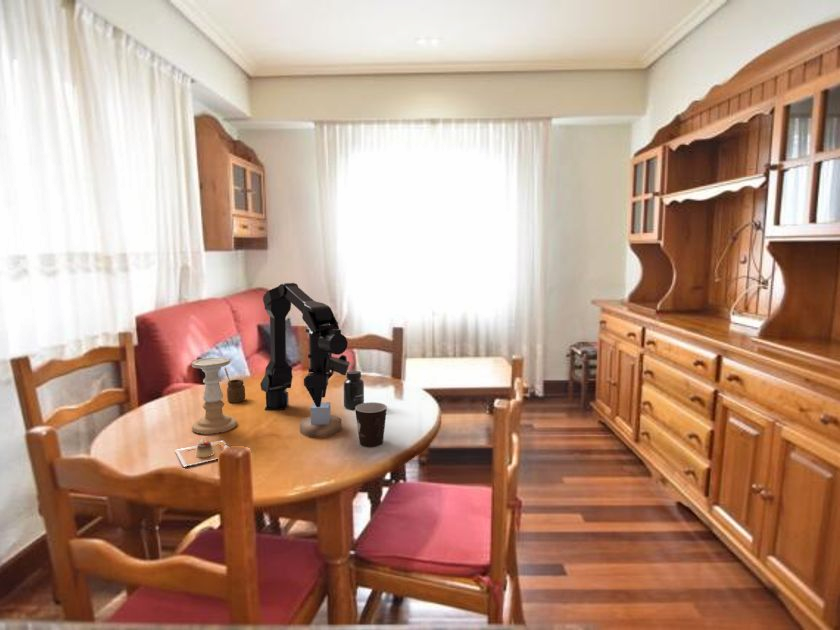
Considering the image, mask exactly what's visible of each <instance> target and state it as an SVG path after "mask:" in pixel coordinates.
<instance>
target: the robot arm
mask: <svg viewBox="0 0 840 630" xmlns="http://www.w3.org/2000/svg"><path fill="white" fill-rule="evenodd" d="M262 301H263V304H264V311H265V312H266V313H267V315H268V316H269V329H270V330H269V331H270V332H269V333H270V334H269V335H270V338H269V339H270V341H269V342H270V345H269V346H270V347H269V348H270V350H269V351H270V360H269V361H268V362H267V363H268V364H267V365H266V367H265V372H264V373H265V374H264V376H263V378H262V379H261V382H260V384H259V385H260V389H261V391H262V392H265V408H264V410H265V411H266V410H276V411H277V410H285V409H286V408H287V407H288V405H289V404H290V403H289V392H288V391H287V389H292V382H293V377H294V376H293V372H292V371H293V368H292V366H291V365H290V364H289V363H288V361H287V351H286V350H287V343H286V342H287V340H286V339H287V334H286V332H287V326H286V325H287V320H286V318H287V316H288V315H289V312H290V311H291V308H292V305H293V306H294V307H295V308H296V309H297V310H298V311H299V312H301V314H302V316H301V318H302V320H303V322H304V323H305V324H306V325H307V328H306V329H305V333H307V334H308V349H309V350H308V351H309V352H308V354H307V358H308V359H309V368H308V374H306V375H305V377H304V379H303V386H304V387H305V388H306V390H307V392H308V394H309V395H310V397H311V399H312V401H313V403H315V405H316V407H320V406H321V402H322V399H323V398H326V393H327V389H328V385H329V379H330V378H331V377H332V376H333V375H334V374H335V373H338V374H339V375H341V376H347V372H348V371H349V367H350V363H351V362H350V361H349V360H348V357H347V355H345V354H343V353H345V351H346V350H347V348H348V342H349V341H348V340H347V337H346V336H345V335H344V334H342V329H340V326H339V322H338V321H337V318H336V317H335V314H334V311H333V310H332V308H331V307H330V306H329V305H327V304H325V303H323V302H320V301H316V300H314V299H313V298H312V297H310V296H309V294H307V293H306V292H305V291H304V290H303V289H302V288H300V287H299V285H298V284H297V283H295V282H284V283H283V282H282V283H281V284H279V285H277V286H276V287H274V288H271V289H269V290H267V291H266V292H265V293H264V294H263V297H262ZM332 354H334V355H337V356H338V355H340V356H338V357H337V356H332Z"/></svg>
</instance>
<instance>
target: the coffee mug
mask: <svg viewBox="0 0 840 630" xmlns="http://www.w3.org/2000/svg"><path fill="white" fill-rule="evenodd" d="M387 409H388V406H387V405H386V404H385V403H381V402H373V401H372V402H364V403H363V404H359V405H357V406H356V407H355V409H354V410H355V412H354V413H355V418H356V427H357V432H358V440H359V445H360V446H362V447H363V448H378V447H379V446H382V445H383V444H384V436H385V428H386V427H385V426H386V420H387V419H386V418H387V411H388V410H387Z"/></svg>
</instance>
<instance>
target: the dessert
mask: <svg viewBox="0 0 840 630" xmlns="http://www.w3.org/2000/svg"><path fill="white" fill-rule="evenodd" d="M218 442H223V443H224V444H227V442H226V441H225V440H224V439H222V440H217V441H212V442H210V441H208V439H207V437H206V439H205V438H202V439H201V440H199V443H198V444H197V445H193V446H188V447H183V448H182V447H181V448H179V449H175V450H174V451H175V453H176V455H177V457H178V459H179V461H180V463H181V465H182V467H183V468H188V467H187V466H189V467H192V465H193V466H196V465H201V464H206V463H209V462H208V461H210V462H213V461H212V460H214V461H217V460H216V459H217V458H218V457H217V458H213V459H209V460H208V459H207V460H204V461H199V462H195V463H190V464H188V463H187V464H188V465H187V464H186V463H185V461H184V459H183V458H182V456H181V454H180V452H179V451H182V450H185V449H193V448H197V449H196V450H195V454H194V456H196V457H206V456H209V455H211V454H213V452H214V453H215V451H214V449H213V446H211V444H213V443H218ZM227 445H228V444H227ZM227 445H225V446H224V449H225V448H227V447H229V448H230V446H229V445H228V446H227ZM224 449H223V450H224ZM213 455H214V454H213ZM196 457H195V458H196ZM205 462H206V463H205Z"/></svg>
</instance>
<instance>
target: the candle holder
mask: <svg viewBox="0 0 840 630" xmlns="http://www.w3.org/2000/svg"><path fill="white" fill-rule="evenodd" d="M230 364H231V358H228V357H219V356H218V357H216V356H215V357H207V358H206V357H205V358H199V359H196V360H194V361H192V362H191V367H192V368H195V369H201V370H202V372H204V374H205V377H204V378H203V380H202V383H203V384H205V386H204V392H203V395H202V399H203V401H205V402H204V404H203V405H202V408H203V409H204V410H205V415H204V416H203V417H200V418H199V419H198V420H196V421H194V423H192V425H191V430H192V432H193V431H194V432H193V433H195V432H196V433H195V434H198V433H201V434H200V435H214V434H213V433H216V434H220V433H219V432H221V433H225V432H228V431H231V430H233V429H234V428H235V427H236V426H237V423H238V422H237V419H236V418H235V417H233V416H230V415H229V414H226V413H225V414H224V413H223V407H224V405H225V402H224V401H222V400H223V398H224V393H223V391H222V388H221V384H220V383H221V381H222V378H221V377H220V376H219V372H220V370H221V369H222V368H223V367H225V366H228V365H230Z"/></svg>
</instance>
